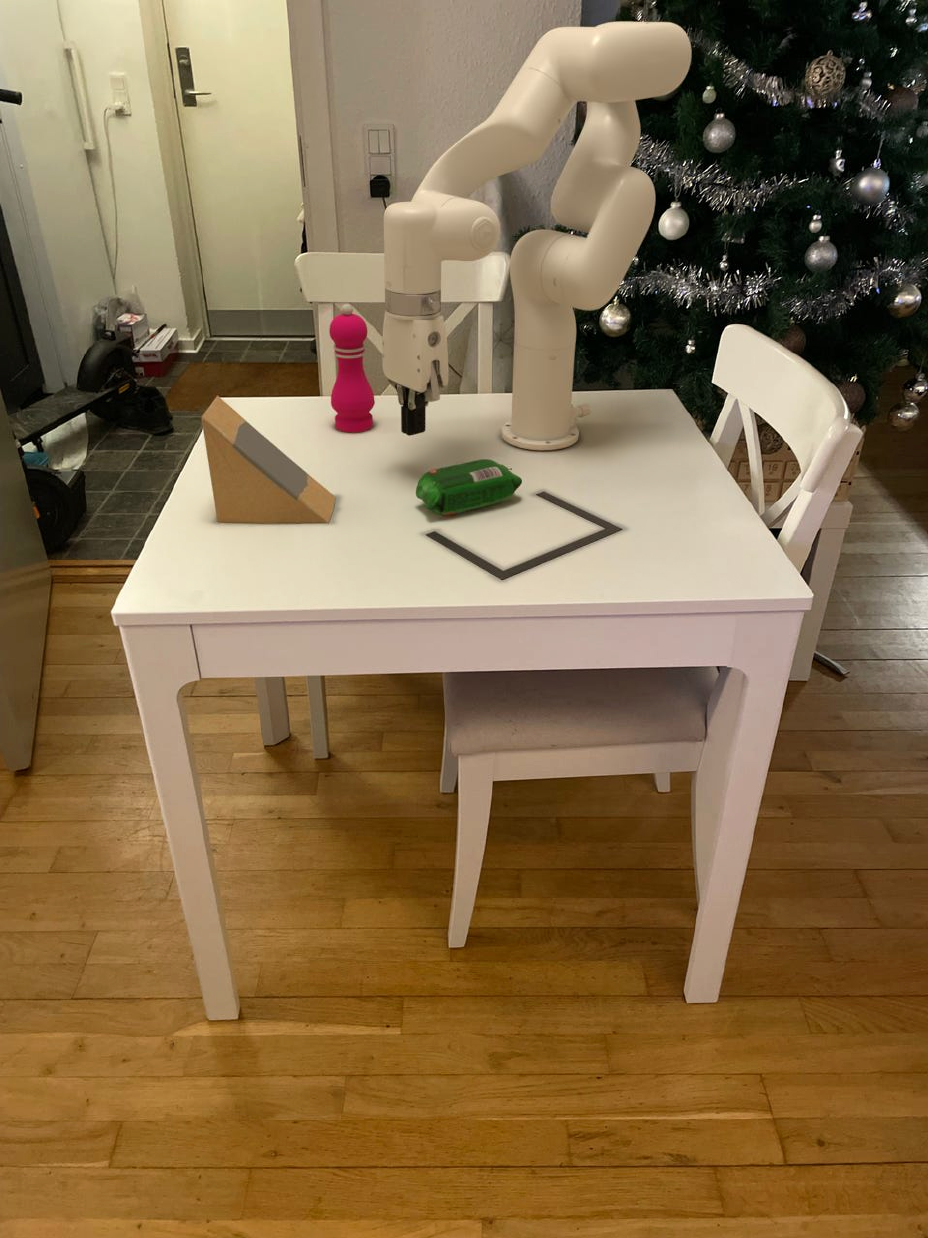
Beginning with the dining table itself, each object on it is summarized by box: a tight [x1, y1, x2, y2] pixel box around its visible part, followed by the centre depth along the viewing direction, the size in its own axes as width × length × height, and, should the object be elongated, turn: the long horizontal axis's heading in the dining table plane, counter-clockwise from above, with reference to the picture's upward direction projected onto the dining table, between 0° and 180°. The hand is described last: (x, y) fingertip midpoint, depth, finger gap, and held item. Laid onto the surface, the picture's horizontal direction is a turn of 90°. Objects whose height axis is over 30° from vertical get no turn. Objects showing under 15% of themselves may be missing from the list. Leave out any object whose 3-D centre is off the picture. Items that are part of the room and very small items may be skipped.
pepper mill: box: [328, 303, 376, 434], centre depth 153 cm, size 7×7×20 cm
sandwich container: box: [201, 395, 336, 524], centre depth 127 cm, size 9×15×15 cm, turn 90°
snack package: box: [415, 458, 523, 516], centre depth 132 cm, size 7×16×5 cm, turn 118°
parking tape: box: [425, 491, 623, 581], centre depth 126 cm, size 22×15×1 cm
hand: (413, 432), depth 137 cm, fingers closed
